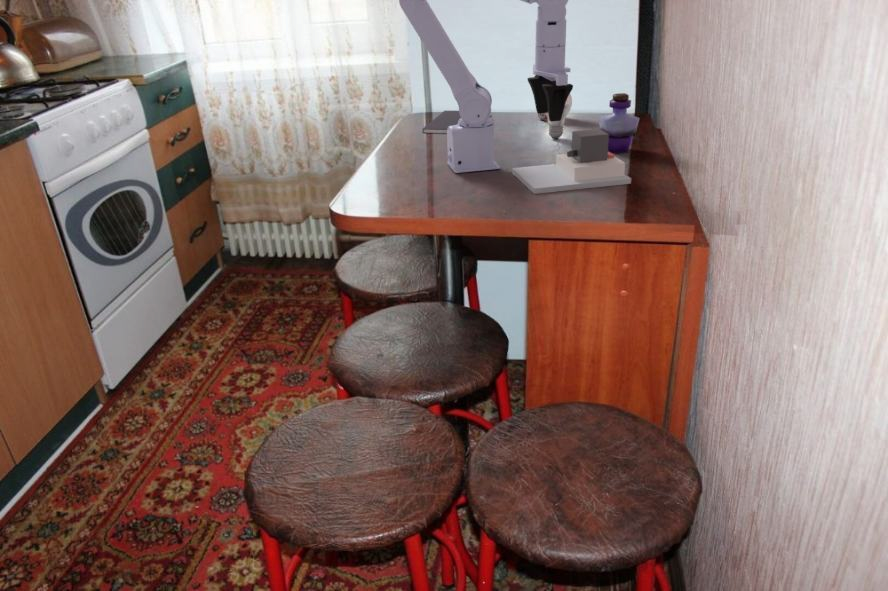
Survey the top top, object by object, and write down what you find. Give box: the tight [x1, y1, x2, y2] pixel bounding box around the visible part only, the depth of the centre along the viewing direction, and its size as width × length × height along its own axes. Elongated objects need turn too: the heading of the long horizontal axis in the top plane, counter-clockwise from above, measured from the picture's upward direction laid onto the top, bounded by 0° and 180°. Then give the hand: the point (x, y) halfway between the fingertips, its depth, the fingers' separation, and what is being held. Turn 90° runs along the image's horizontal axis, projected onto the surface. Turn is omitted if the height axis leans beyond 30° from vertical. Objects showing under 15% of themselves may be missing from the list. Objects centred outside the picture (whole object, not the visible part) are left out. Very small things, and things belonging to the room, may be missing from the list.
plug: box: [566, 128, 609, 163], centre depth 138 cm, size 4×7×6 cm, turn 102°
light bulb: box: [545, 93, 573, 140], centre depth 165 cm, size 7×7×12 cm
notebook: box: [421, 110, 461, 134], centre depth 186 cm, size 13×2×21 cm
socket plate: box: [555, 152, 626, 181], centre depth 139 cm, size 10×10×3 cm
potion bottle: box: [598, 92, 641, 154], centre depth 154 cm, size 9×9×12 cm
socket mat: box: [511, 163, 632, 195], centre depth 139 cm, size 19×14×1 cm
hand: (548, 116), depth 144 cm, fingers open, 7 cm apart
